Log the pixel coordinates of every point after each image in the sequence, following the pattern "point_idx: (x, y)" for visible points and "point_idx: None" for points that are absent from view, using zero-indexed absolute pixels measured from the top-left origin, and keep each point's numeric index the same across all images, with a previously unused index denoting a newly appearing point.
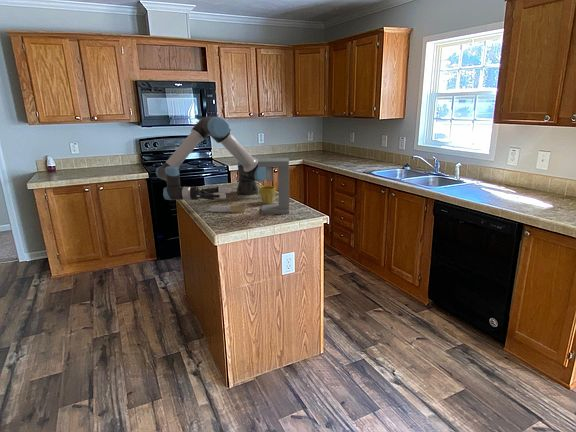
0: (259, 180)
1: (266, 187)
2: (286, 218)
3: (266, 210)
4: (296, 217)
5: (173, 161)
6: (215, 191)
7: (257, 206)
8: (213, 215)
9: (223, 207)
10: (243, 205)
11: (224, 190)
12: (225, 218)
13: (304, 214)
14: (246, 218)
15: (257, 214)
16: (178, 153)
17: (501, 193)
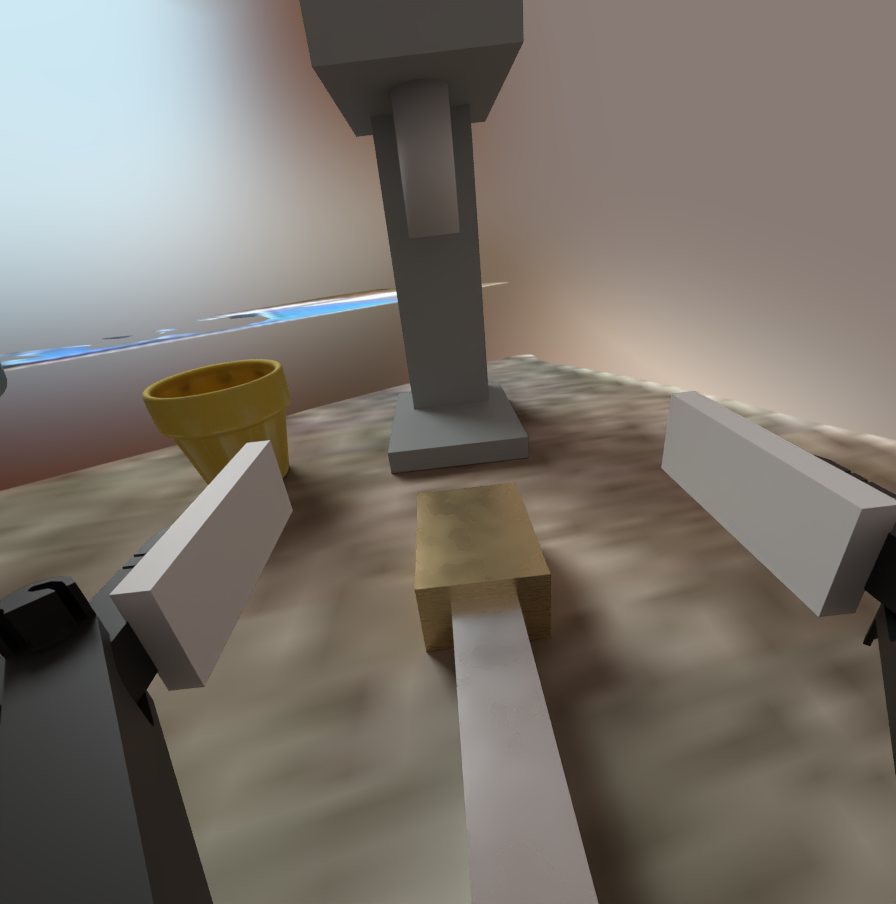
0: (2, 383)
1: (158, 396)
2: (579, 393)
3: (520, 424)
4: (552, 381)
5: None
6: (155, 751)
7: (339, 501)
8: (812, 868)
9: (539, 685)
10: (499, 487)
11: (250, 528)
12: (800, 627)
13: (503, 376)
14: (673, 492)
15: (548, 468)
16: None
17: (345, 300)
